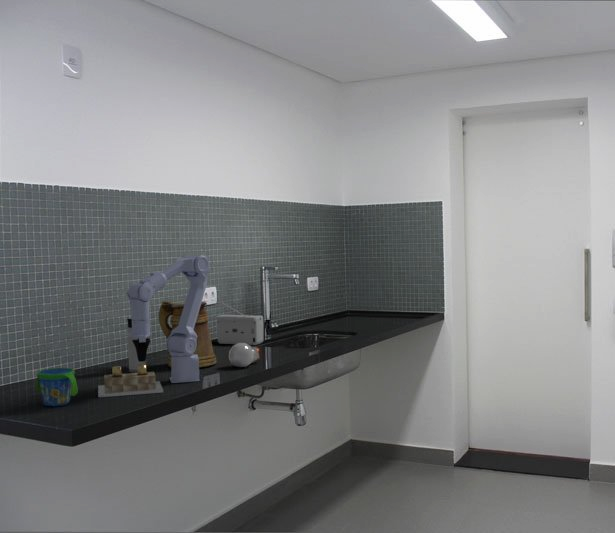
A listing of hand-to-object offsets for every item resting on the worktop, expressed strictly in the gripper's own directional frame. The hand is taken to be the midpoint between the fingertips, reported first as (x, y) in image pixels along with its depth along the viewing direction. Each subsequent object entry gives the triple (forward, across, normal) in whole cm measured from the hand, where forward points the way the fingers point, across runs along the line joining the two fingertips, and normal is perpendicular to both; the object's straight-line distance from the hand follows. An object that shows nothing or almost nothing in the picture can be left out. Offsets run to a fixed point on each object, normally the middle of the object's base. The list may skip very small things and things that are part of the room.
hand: (141, 361), depth 236 cm
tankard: (+10, -40, +19) cm, 45 cm away
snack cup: (+10, +12, -26) cm, 30 cm away
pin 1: (+5, 0, -8) cm, 9 cm away
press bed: (+9, 0, -4) cm, 10 cm away
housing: (+9, 0, -4) cm, 10 cm away
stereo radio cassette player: (+10, -86, +49) cm, 99 cm away
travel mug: (+10, -34, 0) cm, 35 cm away
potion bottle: (+10, -30, +40) cm, 51 cm away
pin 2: (+5, 0, 0) cm, 5 cm away
